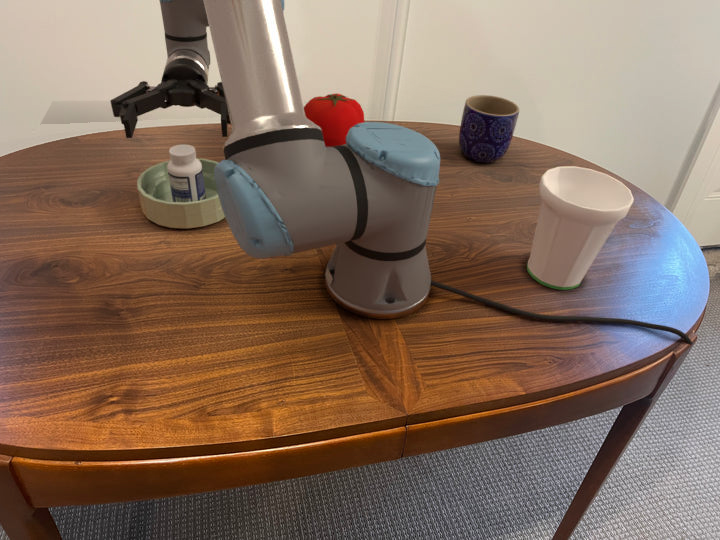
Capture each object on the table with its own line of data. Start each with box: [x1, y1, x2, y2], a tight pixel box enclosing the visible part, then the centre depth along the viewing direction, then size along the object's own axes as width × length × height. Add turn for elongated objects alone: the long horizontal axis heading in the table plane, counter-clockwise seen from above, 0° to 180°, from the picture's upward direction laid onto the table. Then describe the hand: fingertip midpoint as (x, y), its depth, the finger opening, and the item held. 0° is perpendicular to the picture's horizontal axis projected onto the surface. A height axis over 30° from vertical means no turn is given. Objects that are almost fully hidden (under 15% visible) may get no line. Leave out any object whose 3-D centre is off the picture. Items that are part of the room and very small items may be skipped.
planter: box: [458, 94, 520, 164], centre depth 111 cm, size 11×11×11 cm
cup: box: [526, 165, 635, 291], centre depth 79 cm, size 12×12×15 cm
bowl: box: [136, 157, 226, 230], centre depth 89 cm, size 15×15×5 cm
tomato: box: [303, 93, 365, 147], centre depth 107 cm, size 12×13×12 cm
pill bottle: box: [167, 143, 206, 202], centre depth 87 cm, size 5×5×10 cm
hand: (176, 129), depth 79 cm, fingers open, 13 cm apart
